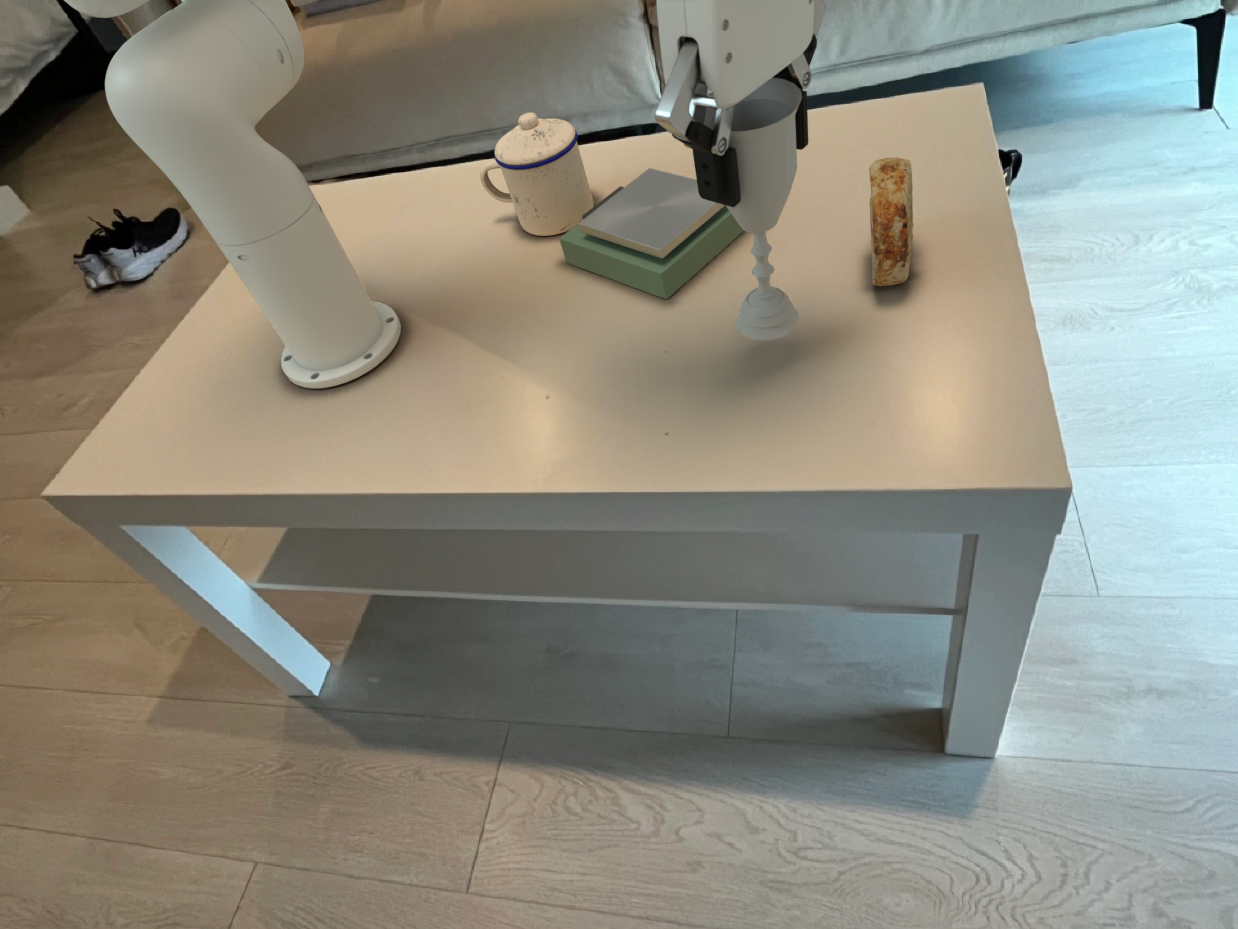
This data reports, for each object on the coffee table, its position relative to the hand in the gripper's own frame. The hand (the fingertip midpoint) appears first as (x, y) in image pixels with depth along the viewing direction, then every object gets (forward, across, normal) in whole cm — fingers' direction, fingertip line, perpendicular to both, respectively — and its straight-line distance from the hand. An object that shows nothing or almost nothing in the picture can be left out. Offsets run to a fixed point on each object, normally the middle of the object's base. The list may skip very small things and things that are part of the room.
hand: (754, 170), depth 57 cm
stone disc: (+17, -14, +3) cm, 23 cm away
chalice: (+13, 0, 0) cm, 13 cm away
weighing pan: (+14, -8, -19) cm, 25 cm away
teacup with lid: (+18, -7, -36) cm, 41 cm away
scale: (+17, -8, -20) cm, 28 cm away
